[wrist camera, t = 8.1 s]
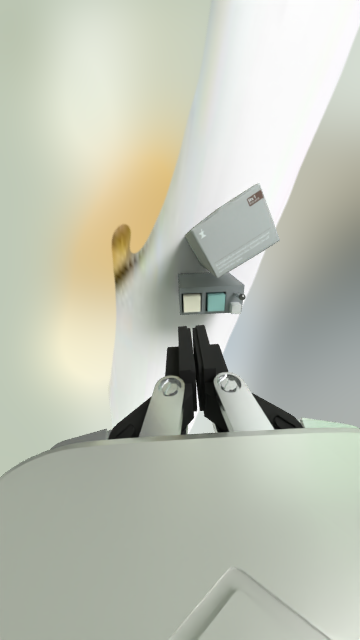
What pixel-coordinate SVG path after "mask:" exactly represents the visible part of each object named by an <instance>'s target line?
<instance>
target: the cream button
mask: <svg viewBox="0 0 360 640" xmlns="http://www.w3.org/2000/svg"><path fill="white" fill-rule="evenodd" d="M200 300H201V296H200V293H185V294H183V307H184V312H200Z"/></svg>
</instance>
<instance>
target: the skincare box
mask: <svg viewBox="0 0 360 640" xmlns="http://www.w3.org/2000/svg"><path fill="white" fill-rule="evenodd" d="M185 238H186V239H187V241H188V243H189V245H190V246H191V248H192V250H193V252H194V253H195V255H196V257H197V259H198V261H199V262H200V264H201V265H202V266H203V267H204V268H206V269H207V270H208V271H209V272H210V273H212V274H213V275H214V276H215V277H217V278H219V277H221V276H222V275H224V274H226V273H227V272H229V271H231V270H232V269H234V268H236V267H237V266H239V265H241V264H243V263H244V262H246V261H248V260H249V259H251V258H253V257H254V256H256V255H257V254H259V253H261V252H262V251H264V250H265V249H267V248H269V247H270V246H272V245H273V244H275V243H276V242H278V241H279V237H278V234H277V231H276V228H275V225H274V222H273V220H272V217H271V214H270V211H269V209H268V206H267V203H266V200H265V198H264V195H263V192H262V189H261V187H260V184H259V183H258V184H256V185H254V186H252V187H251V188H249V189H248V190H246V191H244V192H243V193H241V194H240V195H238V196H237V197H235V198H233V199H232V200H230V201H229V202H227V203H226V204H224V205H223V206H221V207H219V208H218V209H216V210H215V211H214V212H213V213H211V214H210V215H209V216H208V217H206V218H205V219H204V220H202V221H201V222H200V223H198V224H197V225H196V226H195V227H193V228H192V229H191V230H190V231H189V232H188V233H187V234H186V235H185Z"/></svg>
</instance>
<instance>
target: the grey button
mask: <svg viewBox="0 0 360 640" xmlns="http://www.w3.org/2000/svg"><path fill="white" fill-rule="evenodd" d="M241 306H242V305H241V304H240V303H239V302H230V308H229V311H230V312H231V314H241Z"/></svg>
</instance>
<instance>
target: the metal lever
mask: <svg viewBox="0 0 360 640" xmlns="http://www.w3.org/2000/svg"><path fill="white" fill-rule="evenodd" d="M234 296H236V297H237V298H239V299H240V300H244V299H245V295H244V294H240V293H238V292H234Z"/></svg>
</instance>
